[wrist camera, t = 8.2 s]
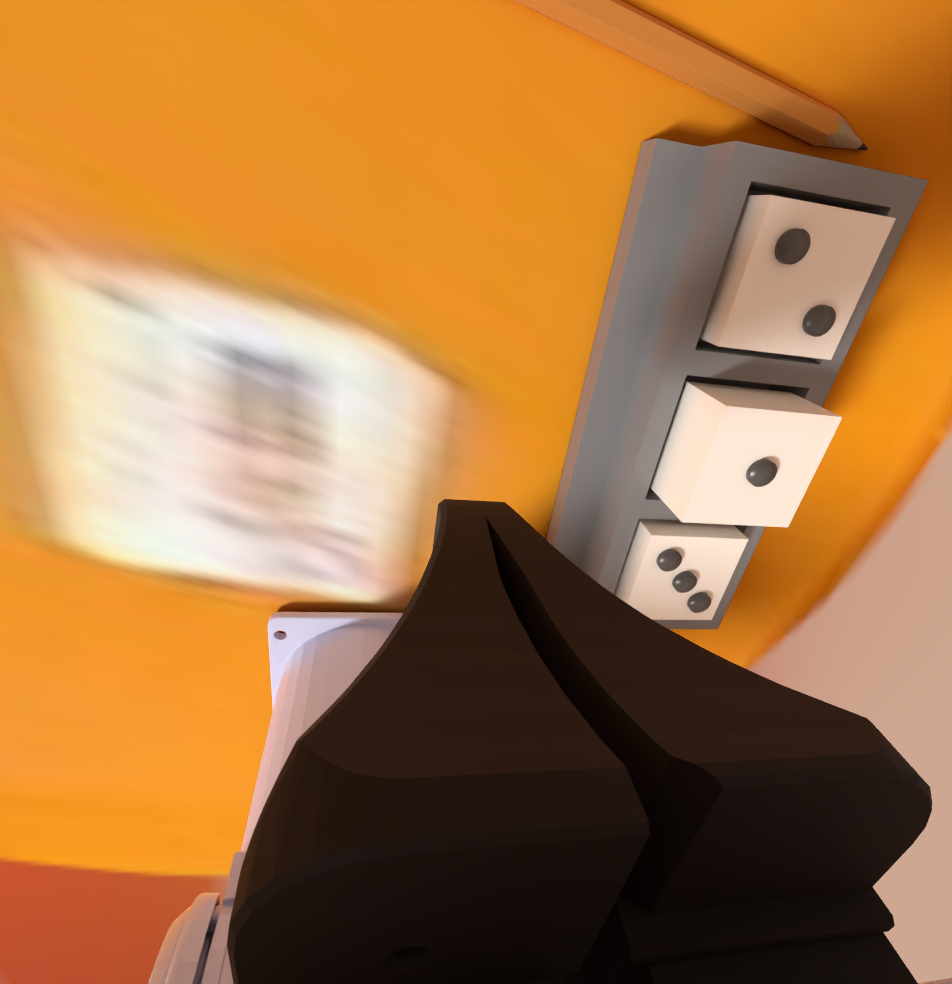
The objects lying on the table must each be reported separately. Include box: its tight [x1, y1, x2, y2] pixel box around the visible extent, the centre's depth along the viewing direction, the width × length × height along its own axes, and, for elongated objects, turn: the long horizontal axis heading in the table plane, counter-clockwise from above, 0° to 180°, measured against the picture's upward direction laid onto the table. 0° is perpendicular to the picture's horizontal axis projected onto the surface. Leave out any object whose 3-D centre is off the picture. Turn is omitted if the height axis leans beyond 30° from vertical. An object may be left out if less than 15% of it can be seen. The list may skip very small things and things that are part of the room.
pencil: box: [514, 0, 868, 150], centre depth 14 cm, size 1×1×19 cm
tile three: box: [614, 518, 749, 620], centre depth 21 cm, size 4×4×3 cm
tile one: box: [650, 381, 842, 527], centre depth 17 cm, size 4×4×3 cm
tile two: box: [699, 195, 896, 360], centre depth 16 cm, size 4×4×3 cm
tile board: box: [546, 138, 929, 629], centre depth 19 cm, size 17×9×3 cm, turn 172°
